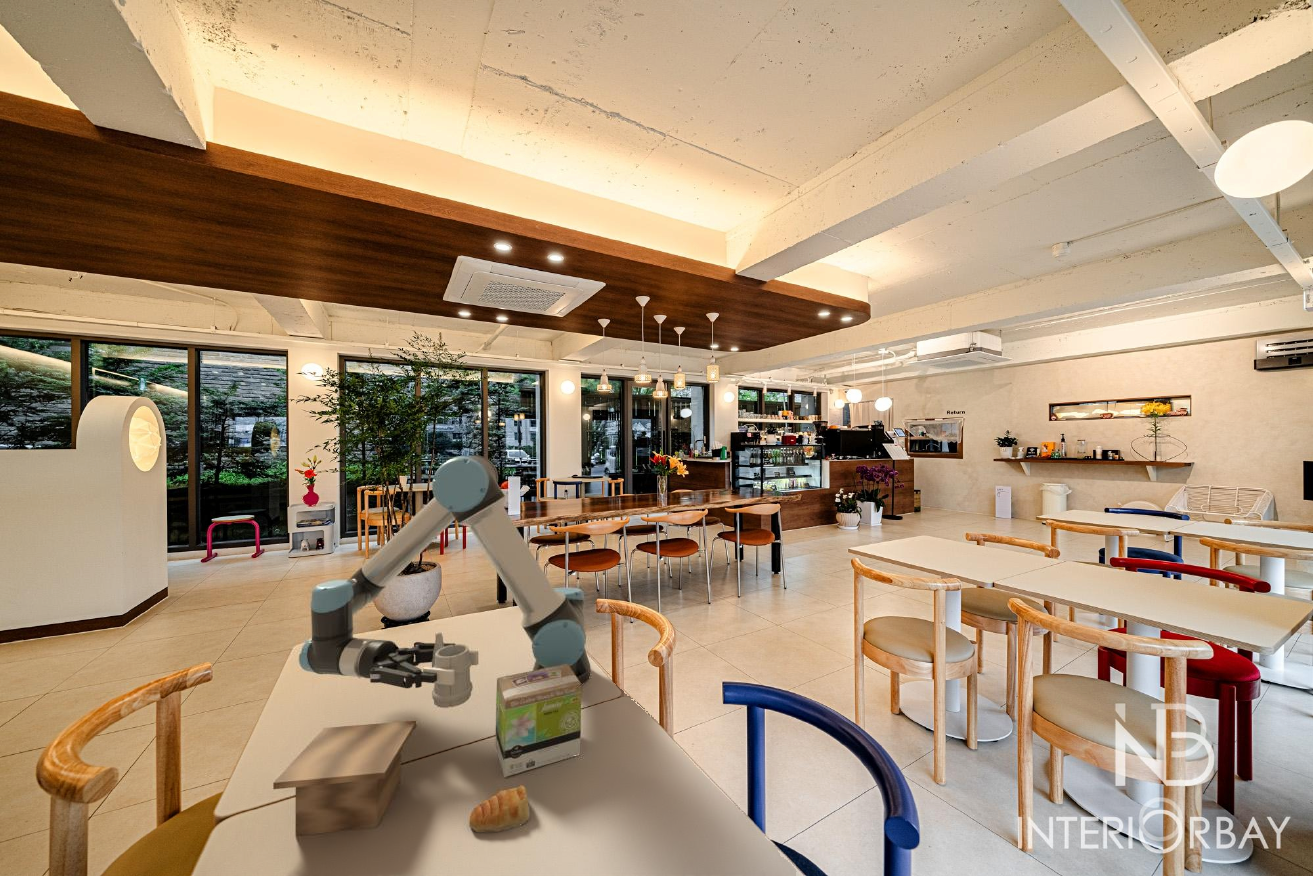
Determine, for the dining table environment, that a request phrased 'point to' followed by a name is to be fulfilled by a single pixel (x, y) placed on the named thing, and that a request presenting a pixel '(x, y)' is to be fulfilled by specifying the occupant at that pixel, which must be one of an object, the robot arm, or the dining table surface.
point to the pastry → (501, 811)
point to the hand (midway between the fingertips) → (465, 667)
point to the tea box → (537, 718)
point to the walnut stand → (346, 776)
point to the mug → (461, 664)
